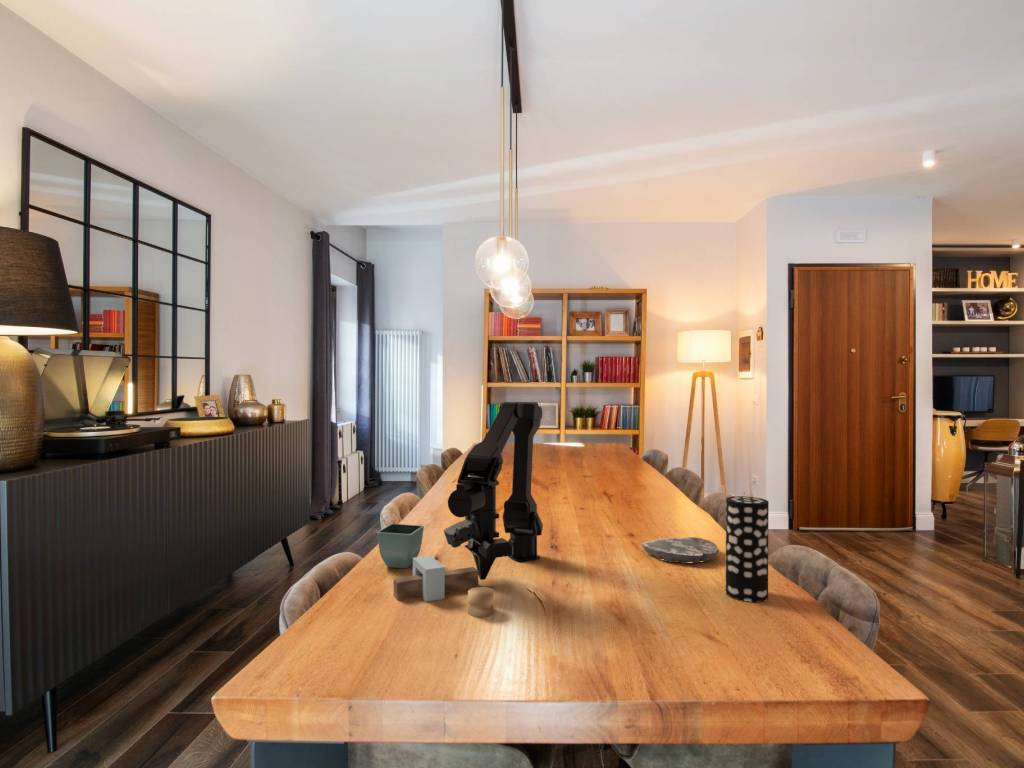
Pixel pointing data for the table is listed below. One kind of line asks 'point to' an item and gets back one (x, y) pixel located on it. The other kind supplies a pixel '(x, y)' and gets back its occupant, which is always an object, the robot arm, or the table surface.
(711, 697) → the table surface
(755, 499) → the white-spotted black cylinder
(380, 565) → the table surface
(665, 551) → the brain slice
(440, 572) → the grey arch block
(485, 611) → the bead
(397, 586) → the brown wooden bar
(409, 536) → the flower pot
